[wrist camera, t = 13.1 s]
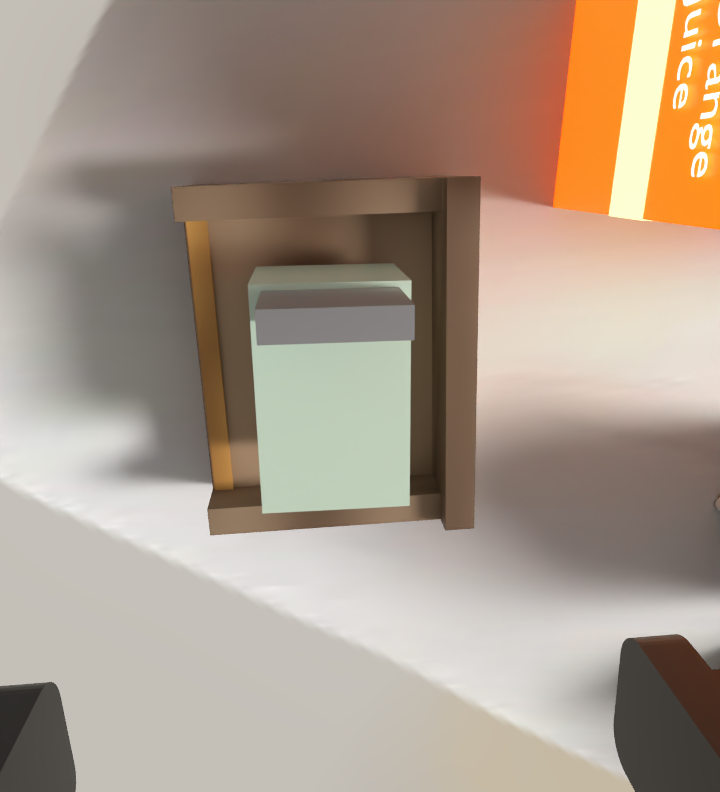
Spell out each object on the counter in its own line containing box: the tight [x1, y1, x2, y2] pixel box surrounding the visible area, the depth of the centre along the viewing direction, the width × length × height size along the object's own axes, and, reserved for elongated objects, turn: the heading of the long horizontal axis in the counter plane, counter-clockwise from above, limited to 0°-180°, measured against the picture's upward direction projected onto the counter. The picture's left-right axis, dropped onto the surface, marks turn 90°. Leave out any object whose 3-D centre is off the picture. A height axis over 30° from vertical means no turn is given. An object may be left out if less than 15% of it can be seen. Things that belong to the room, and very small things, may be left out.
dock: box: [171, 176, 481, 535], centre depth 29 cm, size 11×14×6 cm
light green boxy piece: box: [248, 263, 415, 514], centre depth 25 cm, size 5×8×10 cm, turn 1°
